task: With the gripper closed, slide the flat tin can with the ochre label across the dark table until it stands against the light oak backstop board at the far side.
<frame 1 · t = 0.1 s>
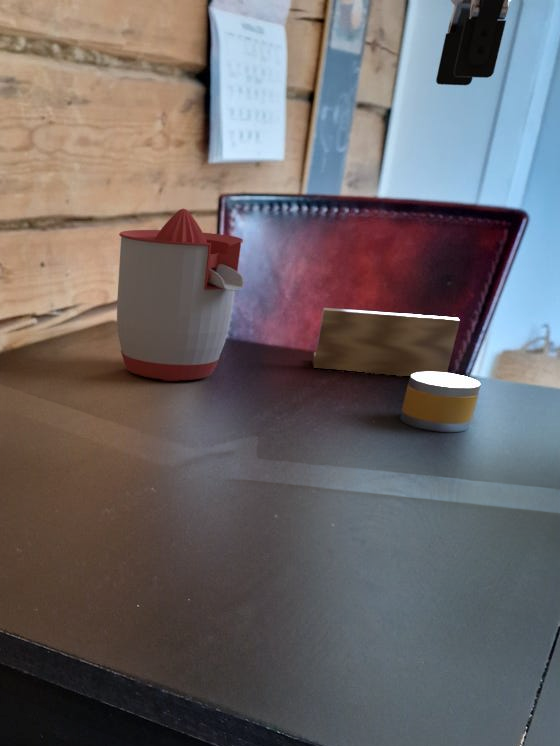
hand: (462, 80, 78), 33 cm above the table, tool pointing down, fingers open, 9 cm apart
oak backstop: (377, 373, 122), on the table
tin can: (434, 423, 100), on the table
citrus juicer: (173, 375, 116), on the table
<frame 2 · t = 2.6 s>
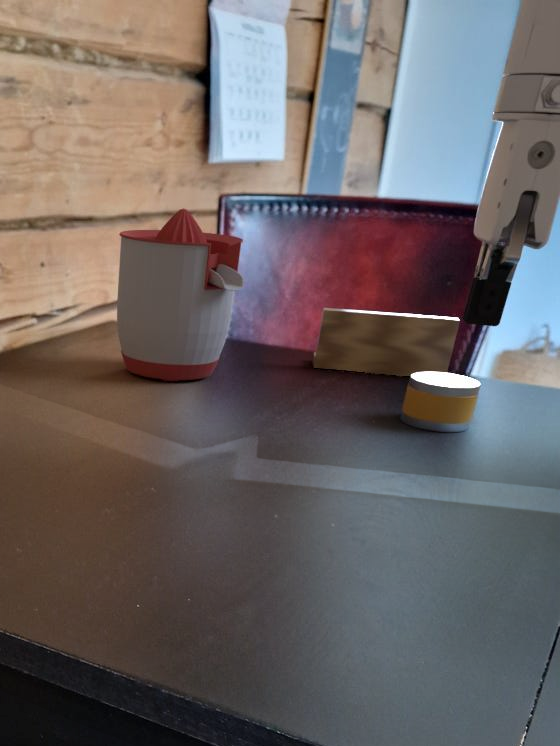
hand: (480, 323, 84), 13 cm above the table, tool pointing down, fingers closed
nothing on the table moved.
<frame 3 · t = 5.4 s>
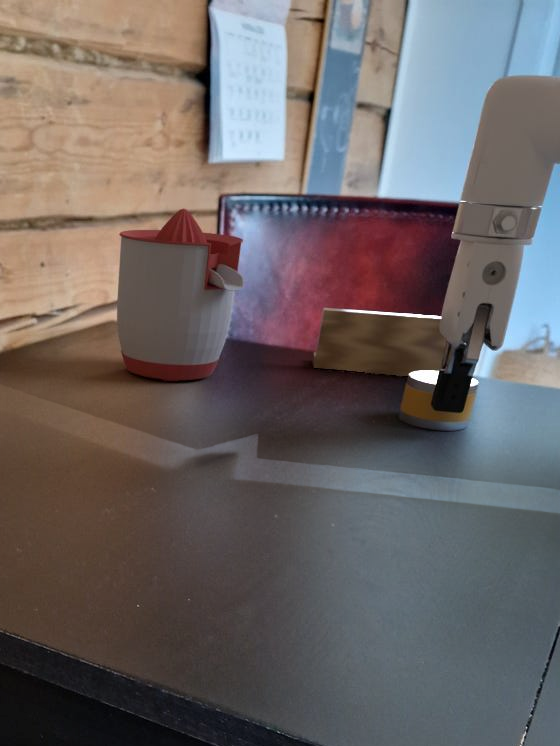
hand: (446, 409, 94), 3 cm above the table, tool pointing down, fingers closed
tin can: (432, 421, 100), on the table, touching gripper
everything else where it was.
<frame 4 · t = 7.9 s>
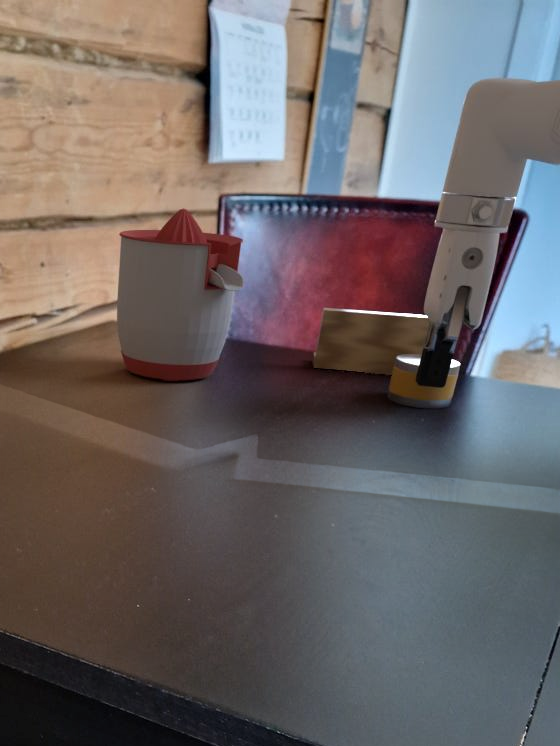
hand: (429, 384, 102), 3 cm above the table, tool pointing down, fingers closed
tin can: (418, 400, 109), on the table, touching gripper
everything else where it was.
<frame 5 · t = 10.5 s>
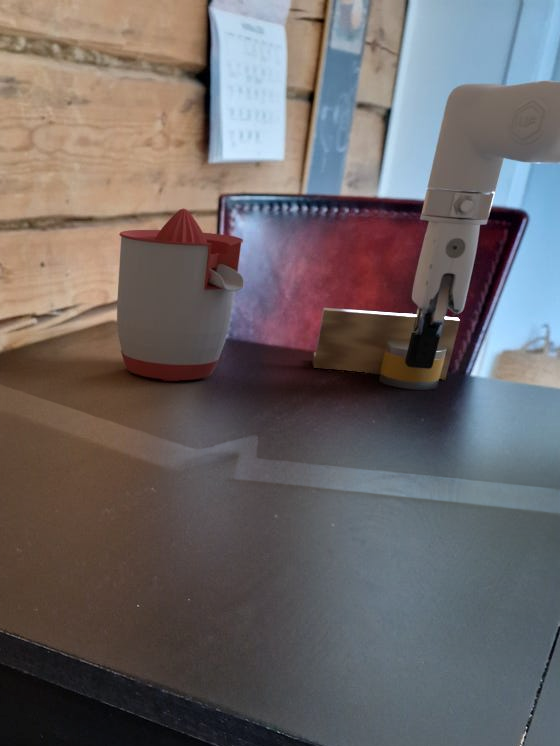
hand: (418, 366, 111), 3 cm above the table, tool pointing down, fingers closed
tin can: (407, 383, 117), on the table, touching gripper, oak backstop
everything else where it was.
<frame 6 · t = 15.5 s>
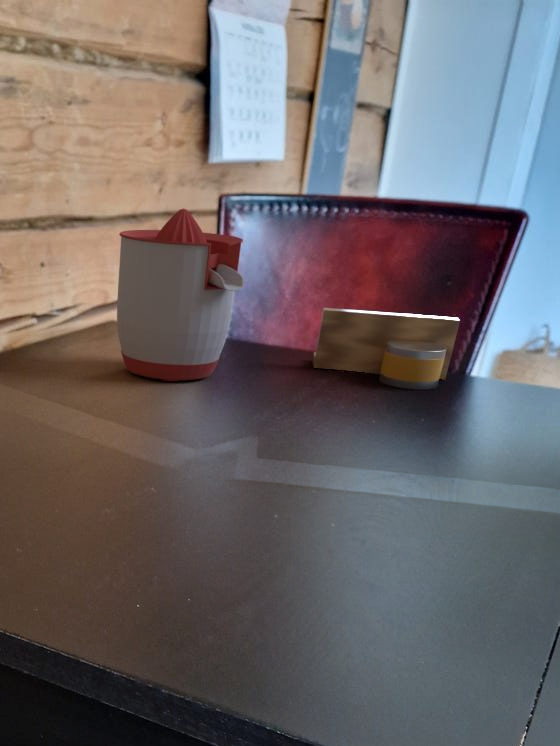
tin can: (407, 383, 117), on the table
everything else where it was.
at the end: tin can inside the target area on the oak backstop (3.5 cm from its centre), point 0.0 cm above the oak backstop's base; tin can tilted 0° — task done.
